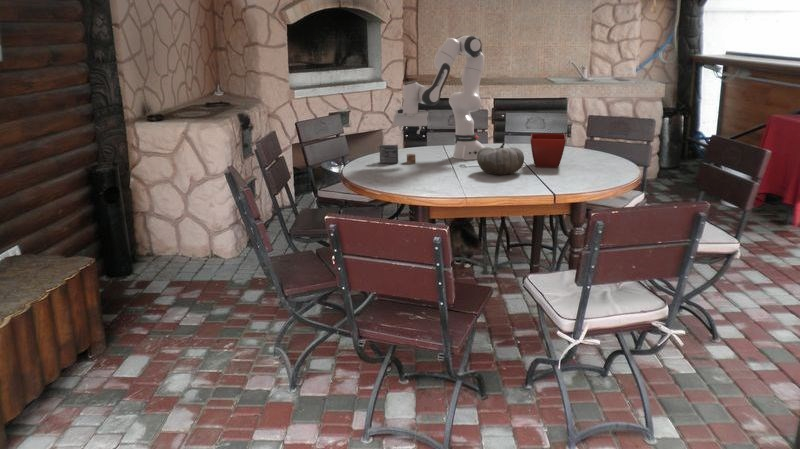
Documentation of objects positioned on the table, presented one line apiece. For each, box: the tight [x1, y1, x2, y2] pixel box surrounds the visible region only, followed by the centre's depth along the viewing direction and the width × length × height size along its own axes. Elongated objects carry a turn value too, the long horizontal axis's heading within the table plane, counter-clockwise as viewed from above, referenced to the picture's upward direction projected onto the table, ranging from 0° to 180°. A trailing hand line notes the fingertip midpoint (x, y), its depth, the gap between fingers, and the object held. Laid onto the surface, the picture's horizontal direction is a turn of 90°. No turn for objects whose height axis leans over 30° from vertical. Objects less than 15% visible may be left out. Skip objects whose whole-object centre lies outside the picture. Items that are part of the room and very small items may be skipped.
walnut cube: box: [406, 153, 417, 165], centre depth 409 cm, size 5×5×5 cm
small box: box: [379, 144, 399, 165], centre depth 410 cm, size 11×6×10 cm, turn 84°
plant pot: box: [530, 132, 567, 169], centre depth 393 cm, size 19×19×17 cm
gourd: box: [476, 142, 525, 176], centre depth 376 cm, size 25×25×17 cm
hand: (410, 133), depth 405 cm, fingers open, 8 cm apart
